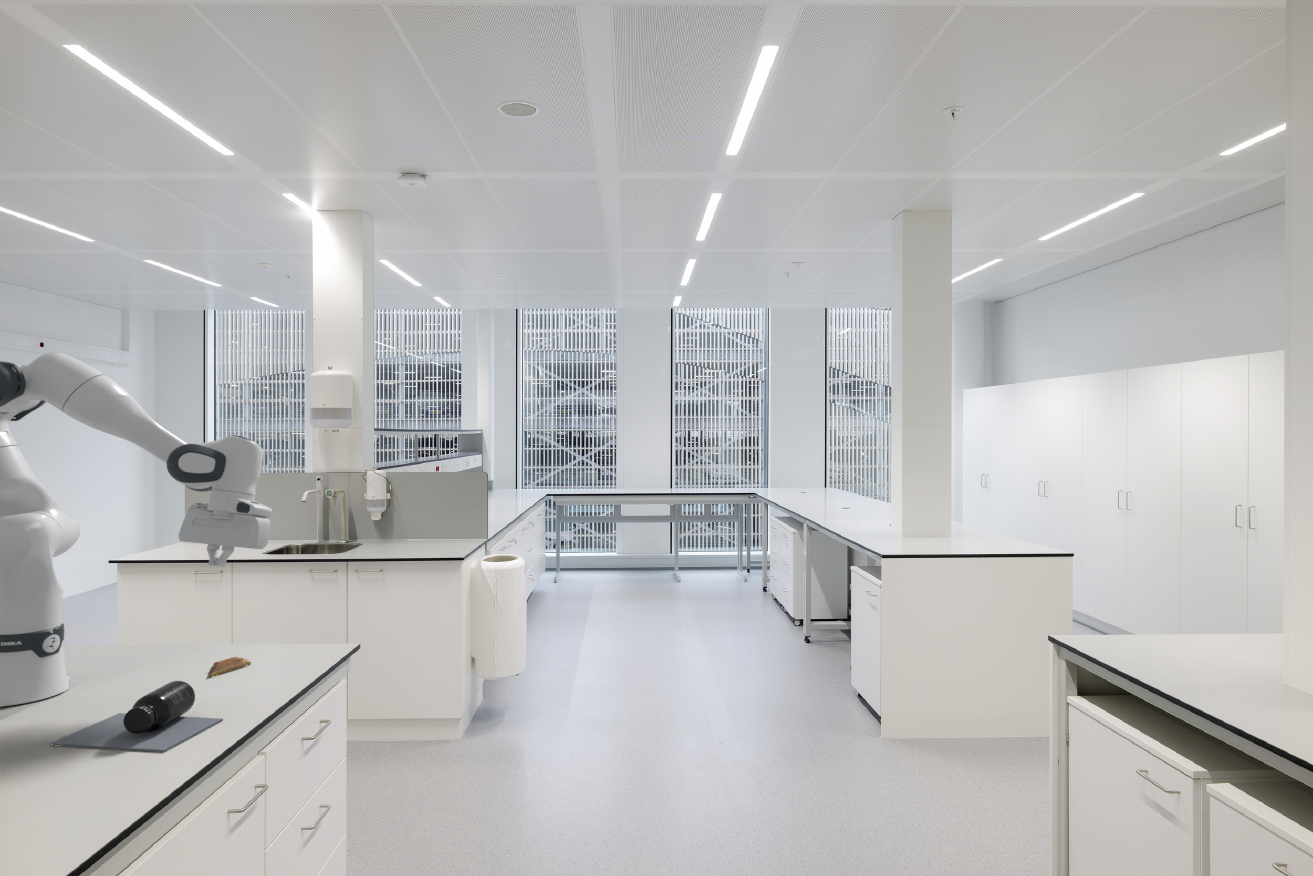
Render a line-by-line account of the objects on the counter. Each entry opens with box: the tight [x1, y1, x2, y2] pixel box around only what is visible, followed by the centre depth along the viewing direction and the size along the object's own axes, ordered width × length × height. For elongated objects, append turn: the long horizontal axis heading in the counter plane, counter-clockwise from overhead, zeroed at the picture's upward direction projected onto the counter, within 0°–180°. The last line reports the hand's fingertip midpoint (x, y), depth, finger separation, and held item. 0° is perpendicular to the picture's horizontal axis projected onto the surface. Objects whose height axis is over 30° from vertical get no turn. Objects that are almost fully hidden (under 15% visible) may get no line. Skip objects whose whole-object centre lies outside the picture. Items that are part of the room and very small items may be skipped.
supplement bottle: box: [123, 680, 196, 734], centre depth 127 cm, size 7×7×12 cm
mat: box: [49, 712, 224, 753], centre depth 125 cm, size 22×14×1 cm, turn 85°
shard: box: [209, 656, 252, 678], centre depth 162 cm, size 11×8×2 cm
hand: (216, 566), depth 152 cm, fingers closed
